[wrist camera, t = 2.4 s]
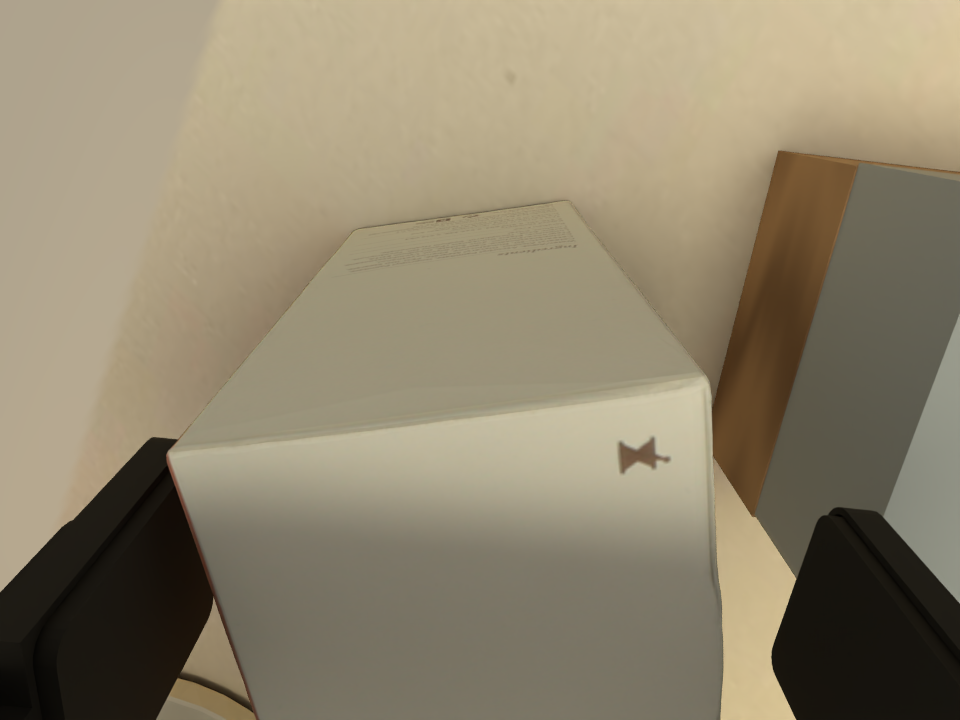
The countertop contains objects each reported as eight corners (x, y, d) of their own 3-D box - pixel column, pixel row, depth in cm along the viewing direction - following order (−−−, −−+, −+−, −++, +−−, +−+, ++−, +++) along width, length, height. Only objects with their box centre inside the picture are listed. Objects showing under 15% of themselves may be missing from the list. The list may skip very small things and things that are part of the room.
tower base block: (969, 464, 23) (1079, 548, 19) (701, 437, 23) (752, 516, 18) (1084, 186, 20) (1248, 212, 16) (774, 149, 19) (856, 165, 15)
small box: (350, 227, 20) (145, 442, 8) (572, 195, 19) (729, 368, 7) (401, 473, 23) (311, 915, 11) (595, 449, 22) (734, 875, 10)
